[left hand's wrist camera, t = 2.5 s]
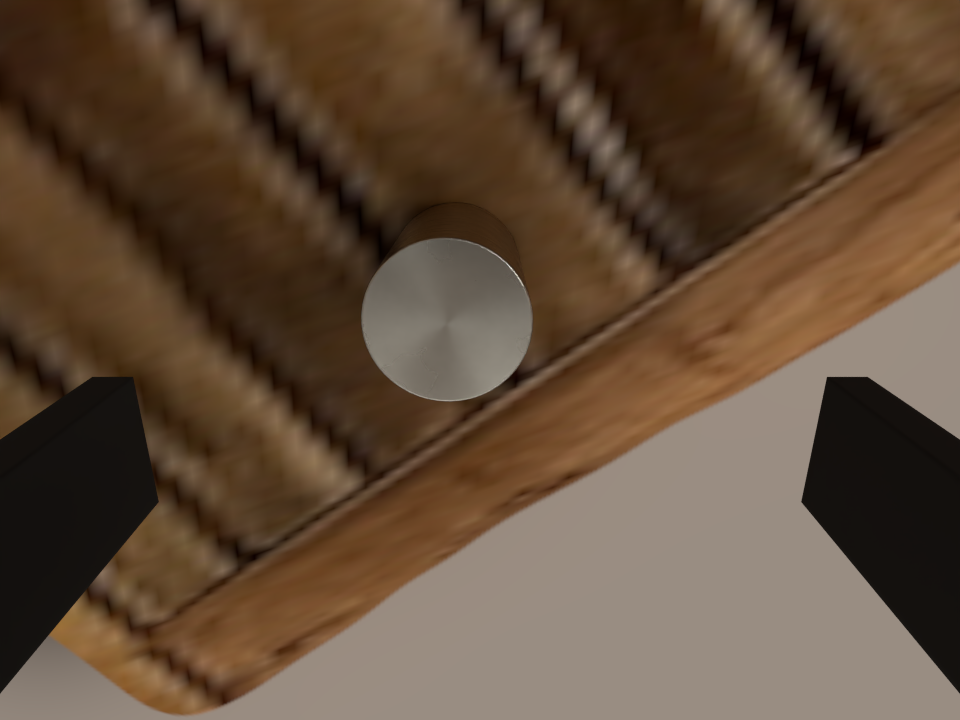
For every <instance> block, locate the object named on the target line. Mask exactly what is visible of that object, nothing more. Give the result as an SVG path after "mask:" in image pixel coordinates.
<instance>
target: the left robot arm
mask: <svg viewBox="0 0 960 720" xmlns="http://www.w3.org/2000/svg"><path fill="white" fill-rule="evenodd" d="M158 502H159V501H158V496H157V492H156V487H155V482H154V477H153V472H152V467H151V463H150V458H149V453H148V448H147V443H146V438H145V433H144V429H143V424H142V419H141V414H140V409H139V404H138V399H137V395H136V390H135V385H134V380H133V377H92V378H90V379H89V380H87V381H86V382H84V383H83V384H81V385H80V386H78V387H77V388H76V389H74V390H73V391H71V392H70V393H68V394H67V395H65V396H64V397H62V398H61V399H59V400H58V401H56V402H55V403H53V404H52V405H50V406H49V407H48V408H46V409H45V410H43V411H42V412H40V413H39V414H37V415H36V416H34V417H33V418H31V419H30V420H28V421H27V422H25V423H24V424H23V425H21V426H20V427H18V428H17V429H15V430H14V431H12V432H11V433H9V434H8V435H6V436H5V437H3V438H2V439H0V693H1V692H2V691H3V689H4V688H5V687H6V686H7V685H8V683H9V682H10V681H11V680H12V679H13V677H14V676H15V675H16V674H17V673H18V671H19V670H20V669H21V668H22V666H23V665H24V664H25V663H26V662H27V660H28V659H29V658H30V657H31V656H32V654H33V653H34V652H35V651H36V650H37V648H38V647H39V646H40V645H41V644H42V642H43V641H44V640H45V639H46V637H47V636H48V635H49V634H50V633H51V631H52V630H53V629H54V628H55V627H56V625H57V624H58V623H59V622H60V621H61V619H62V618H63V617H64V616H65V615H66V613H67V612H68V611H69V610H70V608H71V607H72V606H73V605H74V604H75V602H76V601H77V600H78V599H79V598H80V596H81V595H82V594H83V593H84V592H85V590H86V589H87V588H88V587H89V586H90V584H91V583H92V582H93V581H94V579H95V578H96V577H97V576H98V575H99V573H100V572H101V571H102V570H103V569H104V567H105V566H106V565H107V564H108V563H109V561H110V560H111V559H112V558H113V556H114V555H115V554H116V553H117V552H118V550H119V549H120V548H121V547H122V546H123V544H124V543H125V542H126V541H127V540H128V538H129V537H130V536H131V535H132V534H133V532H134V531H135V530H136V529H137V527H138V526H139V525H140V524H141V523H142V521H143V520H144V519H145V518H146V517H147V515H148V514H149V513H150V512H151V511H152V509H153V508H154V507H155V506H156V505H157V503H158ZM801 502H802V503H803V505H804V506H805V507H806V508H807V509H808V511H809V512H810V513H811V514H812V515H813V517H814V518H815V519H816V520H817V521H818V523H819V524H820V525H821V526H822V527H823V529H824V530H825V531H826V532H827V534H828V535H829V536H830V537H831V538H832V540H833V541H834V542H835V543H836V544H837V546H838V547H839V548H840V549H841V550H842V552H843V553H844V554H845V555H846V556H847V558H848V559H849V560H850V561H851V563H852V564H853V565H854V566H855V567H856V569H857V570H858V571H859V572H860V573H861V575H862V576H863V577H864V578H865V579H866V581H867V582H868V583H869V584H870V586H871V587H872V588H873V589H874V590H875V592H876V593H877V594H878V595H879V596H880V598H881V599H882V600H883V601H884V602H885V604H886V605H887V606H888V607H889V608H890V610H891V611H892V612H893V613H894V615H895V616H896V617H897V618H898V619H899V621H900V622H901V623H902V624H903V625H904V627H905V628H906V629H907V630H908V631H909V633H910V634H911V635H912V636H913V637H914V639H915V640H916V641H917V642H918V643H919V645H920V646H921V647H922V648H923V650H924V651H925V652H926V653H927V654H928V656H929V657H930V658H931V659H932V660H933V662H934V663H935V664H936V665H937V666H938V668H939V669H940V670H941V671H942V672H943V674H944V675H945V676H946V677H947V679H948V680H949V681H950V682H951V683H952V685H953V686H954V687H955V688H956V689H957V691H958V692H959V693H960V439H958V438H957V437H955V436H954V435H952V434H951V433H949V432H948V431H946V430H945V429H943V428H942V427H940V426H939V425H937V424H936V423H935V422H933V421H932V420H930V419H929V418H927V417H926V416H924V415H923V414H921V413H920V412H918V411H917V410H915V409H914V408H912V407H911V406H909V405H908V404H906V403H905V402H904V401H902V400H901V399H899V398H898V397H896V396H895V395H893V394H892V393H890V392H889V391H887V390H886V389H884V388H883V387H882V386H880V385H879V384H877V383H876V382H874V381H873V380H871V379H870V378H868V377H827V380H826V385H825V390H824V395H823V400H822V404H821V409H820V414H819V419H818V424H817V429H816V433H815V438H814V443H813V448H812V453H811V458H810V463H809V468H808V472H807V477H806V482H805V487H804V492H803V496H802V501H801Z"/></svg>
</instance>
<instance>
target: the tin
mask: <svg viewBox="0 0 960 720" xmlns="http://www.w3.org/2000/svg"><path fill="white" fill-rule="evenodd" d="M361 326H362V332H363V337H364V340H365V344H366V347H367V349H368V351H369V353H370V355H371V357H372V359H373V360H374V362H375V363H376V365H377V366H378V367H379V369H380V370H381V371H382V372H383V373H384V374H385V375H386V376H387V377H388V378H389V379H390V380H391V381H392V382H394V383H395V384H396V385H398V386H399V387H401V388H402V389H404V390H406V391H408V392H410V393H412V394H414V395H417V396H419V397H423V398H426V399H430V400H437V401H461V400H466V399H471V398H474V397H477V396H480V395H483V394H485V393H487V392H489V391H491V390H493V389H494V388H496V387H497V386H499V385H501V384H502V383H503V382H504V381H505V380H506V379H508V378H509V377H510V376H511V375H512V373H513V372H514V371H515V370H516V369H517V367H518V366H519V365H520V363H521V362H522V360H523V358H524V356H525V354H526V352H527V350H528V347H529V344H530V341H531V336H532V330H533V312H532V306H531V301H530V297H529V293H528V289H527V285H526V281H525V277H524V273H523V270H522V266H521V262H520V258H519V254H518V250H517V247H516V244H515V241H514V239H513V238H512V236H511V234H510V232H509V231H508V229H507V228H506V227H505V225H504V224H503V223H502V222H501V221H500V220H499V219H498V218H496V217H495V216H494V215H493V214H491V213H489V212H488V211H486V210H484V209H482V208H480V207H477V206H474V205H471V204H465V203H444V204H440V205H436V206H433V207H431V208H428V209H426V210H425V211H423V212H421V213H420V214H418V215H417V216H416V217H414V218H413V219H412V220H411V221H410V222H409V223H408V224H407V225H406V227H405V228H404V229H403V231H402V232H401V234H400V235H399V237H398V238H397V240H396V241H395V243H394V245H393V246H392V248H391V249H390V251H389V252H388V254H387V255H386V257H385V258H384V260H383V261H382V263H381V264H380V266H379V268H378V269H377V271H376V272H375V274H374V275H373V277H372V279H371V281H370V282H369V284H368V287H367V289H366V292H365V295H364V299H363V303H362V310H361Z"/></svg>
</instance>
